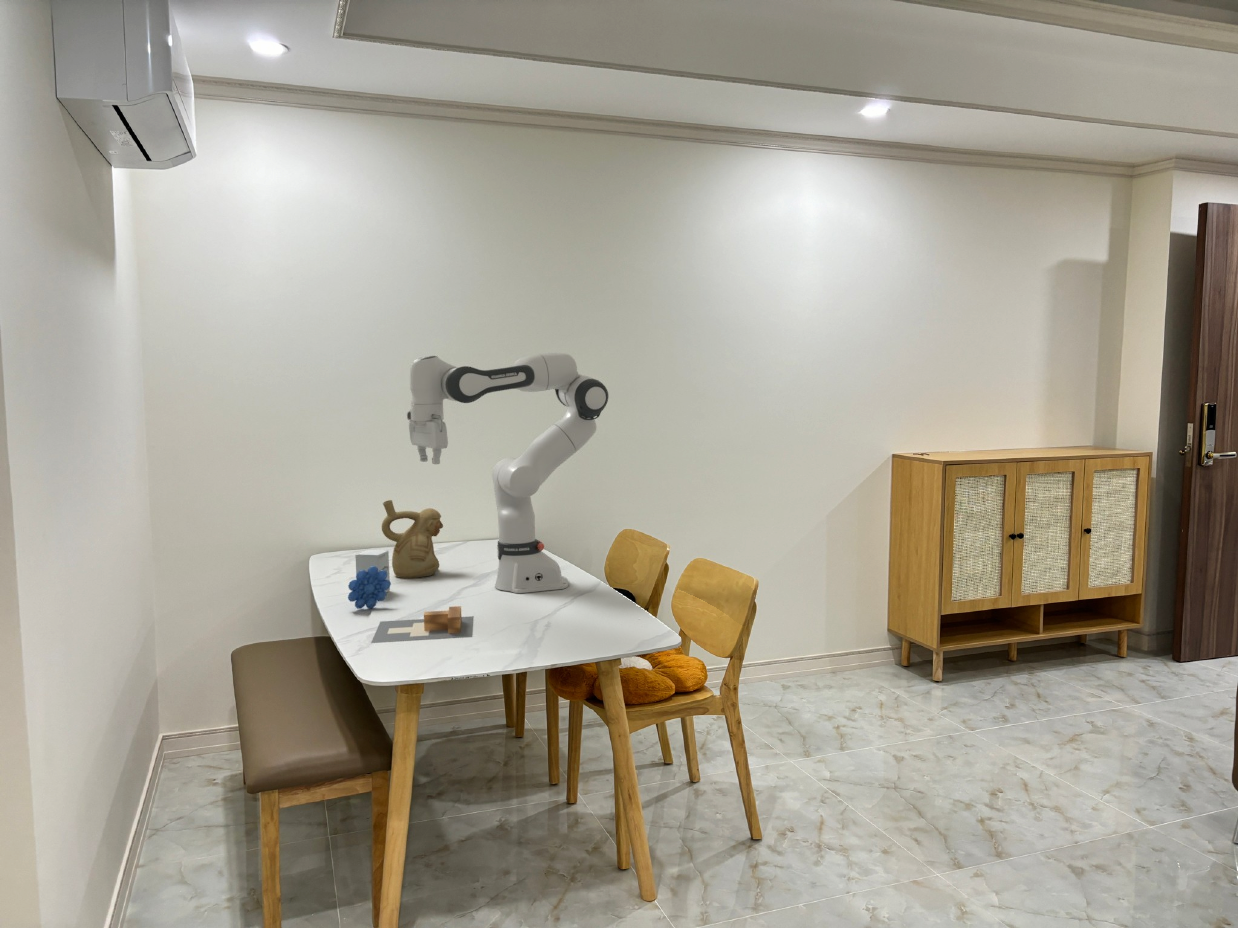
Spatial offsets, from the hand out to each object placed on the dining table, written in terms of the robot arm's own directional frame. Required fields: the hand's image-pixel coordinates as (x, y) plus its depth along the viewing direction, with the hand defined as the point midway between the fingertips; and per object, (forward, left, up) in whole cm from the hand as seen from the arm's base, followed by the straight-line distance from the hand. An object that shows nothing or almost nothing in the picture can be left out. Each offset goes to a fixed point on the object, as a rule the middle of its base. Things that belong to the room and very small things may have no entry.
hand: (429, 462), depth 243 cm
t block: (-4, +31, -39) cm, 50 cm away
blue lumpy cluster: (+18, +4, -40) cm, 44 cm away
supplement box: (+19, -12, -40) cm, 46 cm away
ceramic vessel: (+9, -35, -40) cm, 54 cm away
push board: (+1, +31, -40) cm, 51 cm away
